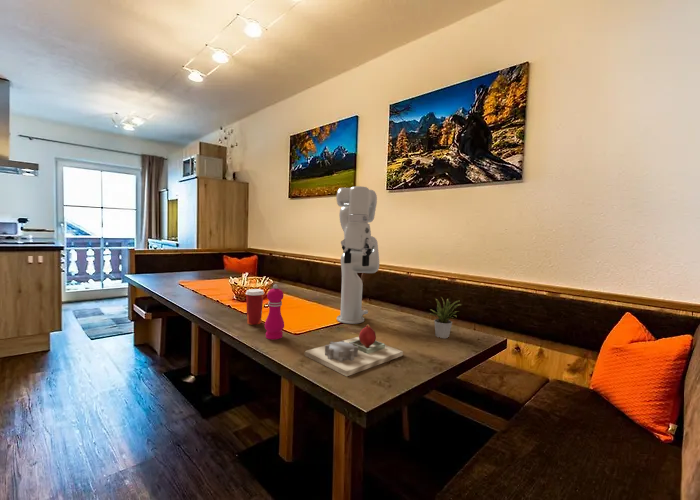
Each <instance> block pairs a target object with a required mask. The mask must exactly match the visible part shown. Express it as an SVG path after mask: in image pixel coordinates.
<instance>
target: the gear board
mask: <svg viewBox="0 0 700 500" xmlns="http://www.w3.org/2000/svg"><path fill="white" fill-rule="evenodd" d="M403 355H404V351H403V350H400V349H398V348H396V347H392V346H389V345H387V344H386V343H383V342H381V341H378V340H375V342H374V343H373V344H372V345H371V346H369V347H368V348H367V347H365V346H364V345H363V344H362V343H361V342H360V340H359V336H356V337H352V338H348V339H344V340H340V341H329V343H328V344H325V345H321V346H318V347H315V348H311V349H308V350H305V351H304V356H305V357H307V358H309V359H311V360H313V361H315V362H317V363H319V364H321V365H322V366H325V367H327V368H328V369H330V370H333V371H335V372H337V373H339V374H341V375H343V376H345V377H348V376H352V375H355V374H357V373H360V372H362V371H366V370H368V369H371V368H374V367H377V366H380V365H382V364H384V363H387V362H390V361H391V360H392V361H393V360H394V359H398V358H400V357H402V356H403Z"/></svg>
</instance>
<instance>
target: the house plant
mask: <svg viewBox="0 0 700 500" xmlns="http://www.w3.org/2000/svg"><path fill="white" fill-rule="evenodd" d="M440 298H441V300H442V304H441V302H440V301H439V300H438V299H437V298H434V300H435V301H436V304H437V305H436V311H435V310H433V309H429V310H430V311H431V312H432V313H429V315H432V316H434V317H435V319H434V320H433V322H434V330H435V337H437V338H439V337H440V339H449V338H450V333H451V331H452V330H451V329H452V324H453V321H452V320H450V319H453V320H455V319H456V318H458V317H457V315H456V313H457V312H459V310H456V311H454V309H456V308H457V307H458V306H462V305H463V304H462V303H459V304H458V302H459V300H456V301H454V302H453V303H451V301H449V298H447V299H446V302H445V300H444V299H443V297H442V296H440ZM427 301H429V300H427ZM431 303H432V305H434V304H433V302H431ZM442 305H443V307H442ZM453 311H454V312H453ZM453 316H454V317H455V318H454V317H453ZM448 337H449V338H448Z"/></svg>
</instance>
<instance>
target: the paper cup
mask: <svg viewBox="0 0 700 500" xmlns="http://www.w3.org/2000/svg"><path fill="white" fill-rule="evenodd" d="M245 295H246V296H245V297H246V319H247V320H246V323H247V325H250V326H252V325H255V326H256V325H261V323H262V315H263V304H264V295H265V292H264V289H260V288H251V289H247V290H246V292H245Z"/></svg>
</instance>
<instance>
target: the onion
mask: <svg viewBox="0 0 700 500" xmlns="http://www.w3.org/2000/svg"><path fill="white" fill-rule="evenodd" d="M358 337H359V340H360V342H361V343H362V344H363V345H364V346H365V347H367V348H368V347H369V346H371V345H372V344H373V343H374V342H375V341H377V340H376V339H377V334H376V332H375V330H374V329H373V328H372V327H371V326H370V324H366V326H365V327H363V328H362V329H360V332H359V334H358Z"/></svg>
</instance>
